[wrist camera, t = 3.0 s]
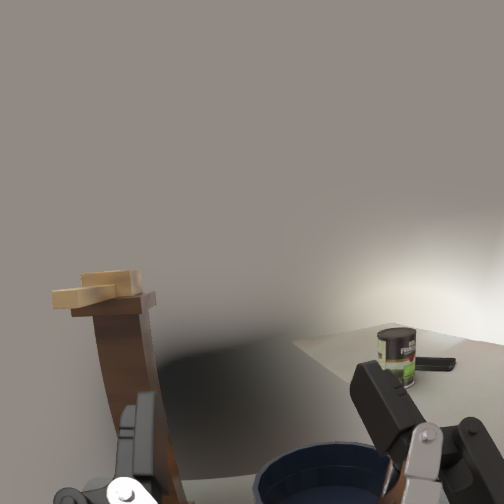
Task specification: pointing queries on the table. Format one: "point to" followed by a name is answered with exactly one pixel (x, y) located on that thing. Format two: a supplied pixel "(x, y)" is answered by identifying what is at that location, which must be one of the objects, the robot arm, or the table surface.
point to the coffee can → (398, 353)
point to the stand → (129, 363)
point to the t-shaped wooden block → (99, 289)
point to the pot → (323, 475)
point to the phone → (434, 363)
